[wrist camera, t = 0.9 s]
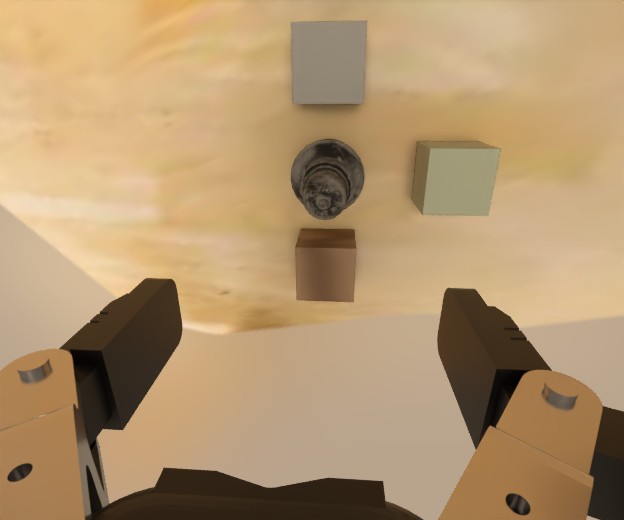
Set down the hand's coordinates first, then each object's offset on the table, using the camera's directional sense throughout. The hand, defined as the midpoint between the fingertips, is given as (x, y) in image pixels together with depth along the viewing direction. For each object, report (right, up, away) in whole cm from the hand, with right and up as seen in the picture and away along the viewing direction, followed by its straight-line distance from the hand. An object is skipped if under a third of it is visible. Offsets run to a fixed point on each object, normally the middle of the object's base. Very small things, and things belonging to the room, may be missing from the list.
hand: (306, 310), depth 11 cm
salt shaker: (+2, +10, +22) cm, 24 cm away
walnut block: (+2, +2, +25) cm, 26 cm away
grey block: (+2, +17, +19) cm, 25 cm away
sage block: (+12, +9, +22) cm, 26 cm away
